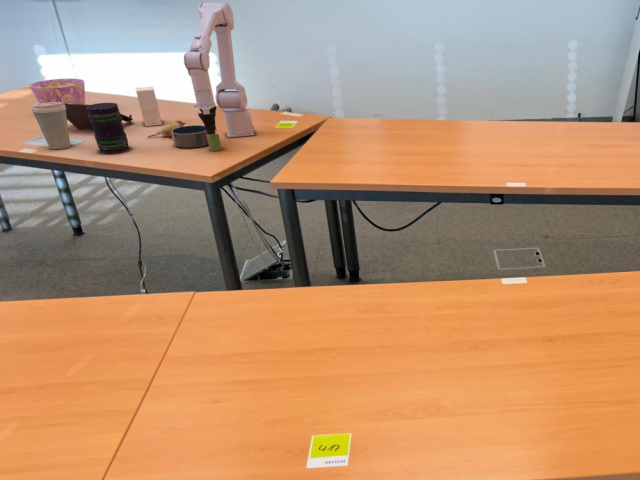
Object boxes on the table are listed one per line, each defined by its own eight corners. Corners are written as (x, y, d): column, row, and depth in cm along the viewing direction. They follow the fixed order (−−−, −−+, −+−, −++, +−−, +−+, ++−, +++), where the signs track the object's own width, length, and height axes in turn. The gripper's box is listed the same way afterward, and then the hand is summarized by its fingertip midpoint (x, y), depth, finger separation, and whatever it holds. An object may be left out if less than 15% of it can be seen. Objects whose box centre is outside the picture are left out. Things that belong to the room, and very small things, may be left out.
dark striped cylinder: (133, 145, 260) (120, 102, 252) (127, 153, 252) (114, 108, 243) (103, 147, 258) (89, 103, 250) (96, 155, 250) (82, 109, 242)
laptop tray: (139, 139, 290) (139, 115, 289) (98, 125, 267) (98, 99, 266) (87, 136, 293) (87, 113, 292) (42, 122, 270) (42, 96, 269)
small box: (162, 124, 285) (153, 89, 278) (145, 126, 283) (135, 91, 276) (161, 120, 292) (152, 86, 284) (144, 122, 289) (135, 87, 282)
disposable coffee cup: (39, 147, 258) (24, 102, 250) (71, 141, 265) (57, 98, 257) (50, 152, 252) (35, 107, 244) (82, 146, 259) (69, 102, 251)
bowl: (212, 137, 269) (208, 123, 266) (213, 146, 259) (210, 132, 256) (174, 141, 265) (170, 127, 262) (174, 150, 255) (171, 135, 252)
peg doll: (221, 147, 258) (216, 124, 253) (222, 150, 255) (217, 127, 250) (209, 148, 257) (204, 125, 252) (210, 151, 253) (204, 128, 249)
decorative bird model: (175, 130, 264) (183, 116, 271) (142, 135, 266) (151, 121, 272) (181, 141, 267) (189, 127, 274) (148, 145, 269) (157, 131, 275)
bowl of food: (77, 118, 295) (68, 88, 288) (29, 118, 295) (18, 87, 289) (101, 107, 311) (93, 78, 305) (55, 107, 312) (46, 78, 305)
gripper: (191, 86, 250) (200, 127, 257) (189, 95, 238) (198, 137, 245) (213, 85, 251) (221, 126, 259) (212, 93, 240) (220, 135, 247)
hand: (212, 131), depth 252 cm, fingers open, 7 cm apart
